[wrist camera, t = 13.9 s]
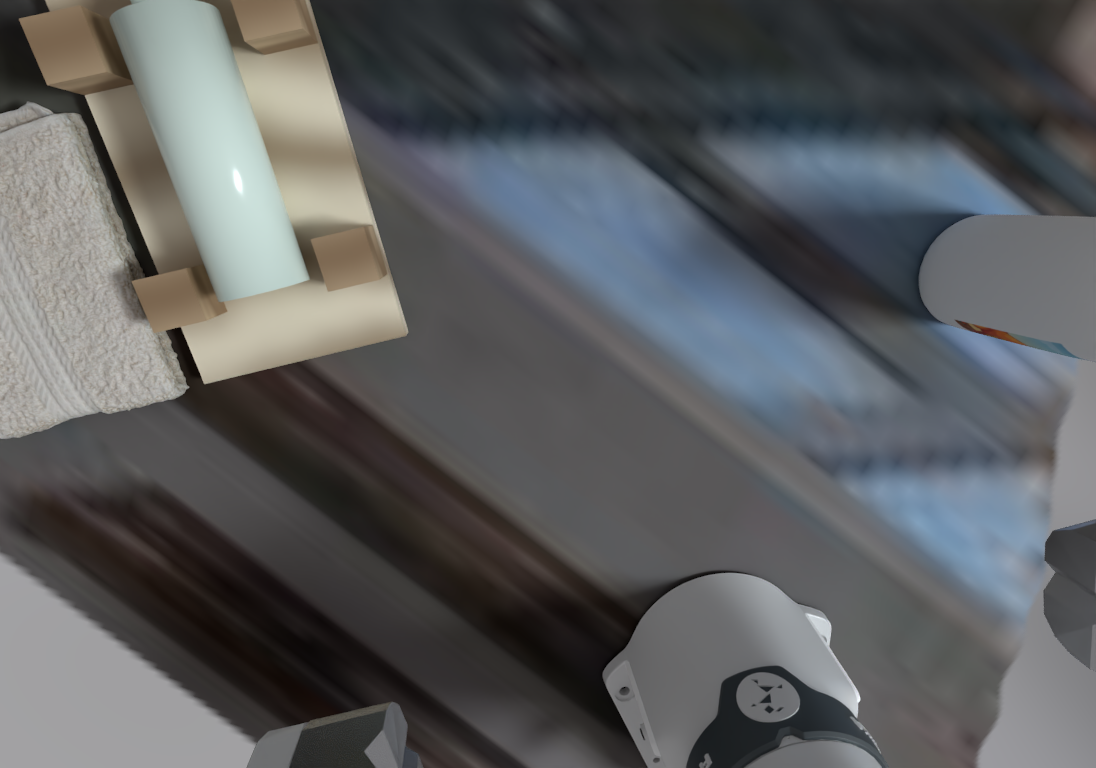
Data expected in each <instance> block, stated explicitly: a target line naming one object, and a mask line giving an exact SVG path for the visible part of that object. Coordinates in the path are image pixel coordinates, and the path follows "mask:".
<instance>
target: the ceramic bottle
mask: <svg viewBox="0 0 1096 768" xmlns="http://www.w3.org/2000/svg"><path fill="white" fill-rule="evenodd" d="M130 1H131V4H132V5H128V6H126V7H123V8H121V9H119V10H117V11H116V12H114V13H113V14H112V15H111V17H110V19H109V21H110V24H111V27H112V29H113V32H114V34H115V37H116V39H117V42H118V45H119V47H120V50H121V52H122V55H123V57H124V60H125V63H126V65H127V68H128V70H129V73H130V75H131V78H132V81H133V83H134V86H135V88H136V91H137V94H138V96H139V99H140V101H141V104H142V106H143V109H144V112H145V114H146V117H147V119H148V122H149V124H150V127H151V130H152V132H153V135H154V137H155V140H156V142H157V145H158V148H159V150H160V153H161V155H162V158H163V160H164V163H165V166H166V168H167V171H168V173H169V176H170V178H171V181H172V184H173V186H174V189H175V191H176V194H177V197H178V199H179V202H180V204H181V207H182V209H183V212H184V215H185V217H186V220H187V222H188V225H189V227H190V230H191V233H192V235H193V238H194V240H195V243H196V245H197V248H198V251H199V253H200V256H201V258H202V261H203V263H204V266H205V269H206V271H207V274H208V276H209V279H210V281H211V284H212V287H213V289H214V292H215V294H216V297H217V299H218V302H224V301H230V300H235V299H240V298H244V297H249V296H253V295H257V294H261V293H265V292H269V291H273V290H277V289H280V288H284V287H288V286H291V285H294V284H298V283H301V282H304V281H307V280H309V279H310V277H309V274H308V271H307V268H306V265H305V262H304V259H303V256H302V253H301V250H300V248H299V245H298V242H297V239H296V236H295V233H294V230H293V227H292V224H291V221H290V218H289V215H288V212H287V209H286V206H285V203H284V200H283V197H282V194H281V191H280V188H279V185H278V182H277V180H276V177H275V174H274V171H273V168H272V165H271V162H270V159H269V156H268V153H267V150H266V147H265V144H264V141H263V138H262V135H261V132H260V129H259V126H258V123H257V120H256V117H255V114H254V112H253V109H252V106H251V103H250V100H249V97H248V94H247V91H246V88H245V85H244V82H243V79H242V76H241V73H240V70H239V67H238V64H237V61H236V58H235V55H234V52H233V49H232V46H231V43H230V41H229V38H228V35H227V32H226V29H225V26H224V23H223V20H222V17H221V14H220V11H219V10H218V9H217V8H216V7H215V6H213V5H211V4H209V3H205V2H201V1H196V0H130Z"/></svg>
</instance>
